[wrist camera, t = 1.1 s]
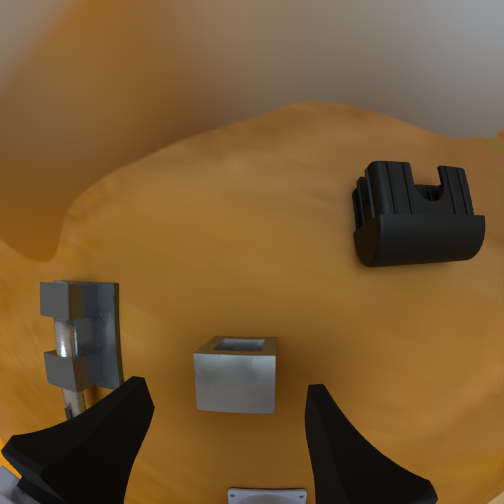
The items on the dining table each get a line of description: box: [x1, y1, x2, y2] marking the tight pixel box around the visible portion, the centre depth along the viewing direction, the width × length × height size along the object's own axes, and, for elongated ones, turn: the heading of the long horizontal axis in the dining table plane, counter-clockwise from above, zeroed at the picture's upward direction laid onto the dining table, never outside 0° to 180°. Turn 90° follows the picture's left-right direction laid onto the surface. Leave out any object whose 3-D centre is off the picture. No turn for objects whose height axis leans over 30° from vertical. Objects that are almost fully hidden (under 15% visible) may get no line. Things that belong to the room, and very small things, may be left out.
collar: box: [194, 336, 276, 414], centre depth 19 cm, size 4×5×6 cm
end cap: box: [352, 161, 485, 267], centre depth 19 cm, size 10×7×7 cm
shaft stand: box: [40, 280, 124, 420], centre depth 20 cm, size 16×8×5 cm, turn 0°
